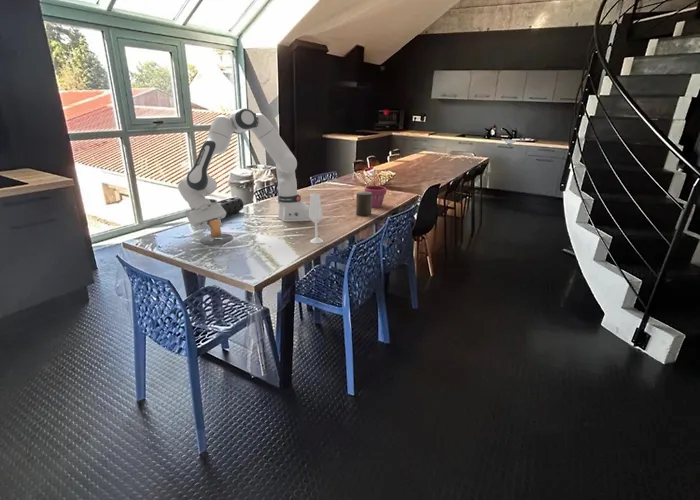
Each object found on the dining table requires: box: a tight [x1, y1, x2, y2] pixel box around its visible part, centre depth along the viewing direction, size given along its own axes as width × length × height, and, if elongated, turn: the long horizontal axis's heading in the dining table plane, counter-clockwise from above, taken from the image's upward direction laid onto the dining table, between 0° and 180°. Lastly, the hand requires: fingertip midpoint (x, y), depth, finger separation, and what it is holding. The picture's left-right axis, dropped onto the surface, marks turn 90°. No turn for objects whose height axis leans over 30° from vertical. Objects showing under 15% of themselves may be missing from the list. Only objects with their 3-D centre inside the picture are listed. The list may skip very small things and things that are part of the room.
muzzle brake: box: [217, 196, 244, 218], centre depth 230 cm, size 10×28×10 cm, turn 155°
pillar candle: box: [355, 190, 372, 217], centre depth 236 cm, size 10×10×15 cm
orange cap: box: [208, 219, 222, 237], centre depth 194 cm, size 5×5×8 cm
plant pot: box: [364, 185, 387, 209], centre depth 254 cm, size 14×14×13 cm
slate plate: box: [199, 232, 234, 246], centre depth 196 cm, size 16×16×1 cm
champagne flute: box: [308, 193, 324, 244], centre depth 188 cm, size 7×7×24 cm
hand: (216, 227), depth 193 cm, fingers closed on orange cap, 5 cm apart
